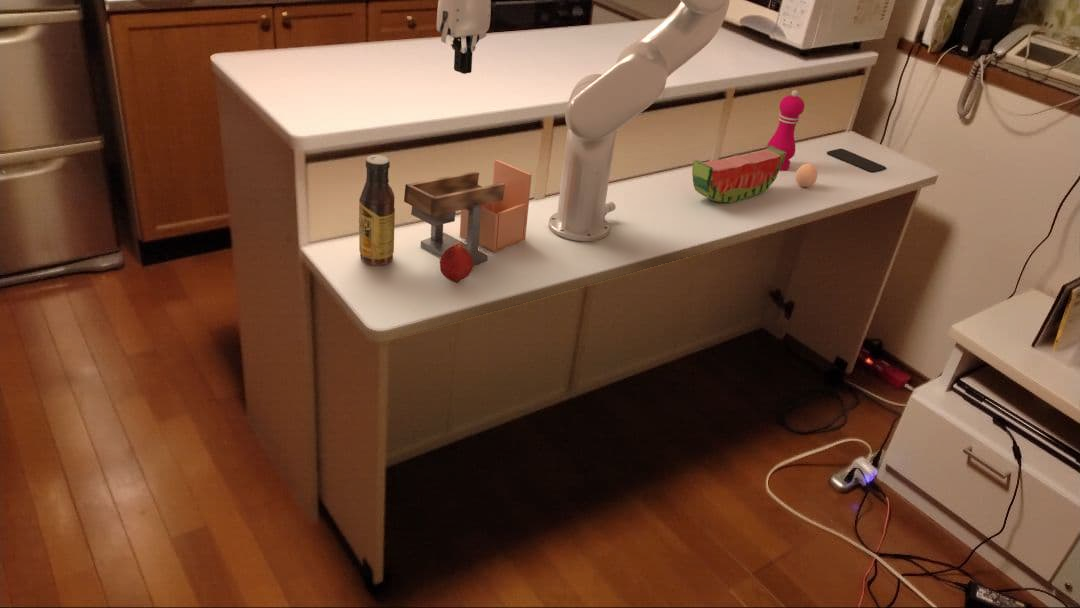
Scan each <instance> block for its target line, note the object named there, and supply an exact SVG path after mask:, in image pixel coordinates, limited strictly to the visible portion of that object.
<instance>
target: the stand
mask: <svg viewBox="0 0 1080 608" xmlns="http://www.w3.org/2000/svg"><path fill="white" fill-rule="evenodd" d="M480 221H481V205H480V204H478V203H475V204H473V205H470V206H469V212H468V230H467V240H466V243H465V242H464V241H462V240H459V239H457V238H455V237H453V236H452V235H449V234H447V233H446V232H444V224H442V225H437V226H432V225H431V224H430V237H428V238H426V239H423V240H421V241H420V247H421V248H422V249H424V250H426V251H428V252H430V253H431V254H433V255H435V256H437V257H439V258H440V259H441V256H442V255H443V253H444V252H445V251H446V250H447V249H448V248H450V247H452V246H454V245H455V243H457V242H461V244H462V247H463V248H464V249H466V250H467V251H468V252H469V253H470V255H471V257H472V260H473V268H474V267H476V266H479V265H481V264H483V263H486V262H488V258H489V255H488V254H487V253H485V252H482V251H480V250H479V249H480V248H479V247H480V246H479V236H480Z"/></svg>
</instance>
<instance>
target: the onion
mask: <svg viewBox="0 0 1080 608" xmlns="http://www.w3.org/2000/svg"><path fill="white" fill-rule="evenodd" d="M461 242H462V241H461ZM461 242H457V243H455V245H454V246H452V247H450V248H448V249H447V250H446V251H445V252H444V253H443V255H442V256H441V258H440V259H439V267H440V272H441V275H443V276H444V278H446V279H447V280H449V281H451V282H453V283H454V284H457V283H460V282H461V281H464V279H465V280H466V278H467V277H469V276H470V274H471V273H472V271H473V268H474V267H473V260H472V257H471V255H470V253H469V252H468V251H467V250H466V249H464V248H463V247H462V244H461Z"/></svg>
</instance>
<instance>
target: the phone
mask: <svg viewBox="0 0 1080 608" xmlns="http://www.w3.org/2000/svg"><path fill="white" fill-rule="evenodd" d="M826 155H827V156H830V157H833V158H835V159H838V160H840V161H841V162H845V163H847V164H849V165H850V166H852V167H855V168H859V169H861V170H863V171H865V172H868V173H878V172H881V171H885V170H886V169H887V167H886V166H884V165H883V164H881V163H878V162H876V161H873V160H870V159H868V158H866V157H864V156H861V155H859V154H856V153H854V152H852V151H850V150H847V149H844V148H835V149H832V150H828V151H827V152H826Z"/></svg>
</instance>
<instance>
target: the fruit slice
mask: <svg viewBox="0 0 1080 608" xmlns="http://www.w3.org/2000/svg"><path fill="white" fill-rule="evenodd" d="M766 147H767V148H764V149H763V150H760V151H756V152H749V153H748V154H743V155H739V154H736V155H732V156H731V157H726V158H722V159H714V160H708V161H705V162H702V161H701V160H698V159H696V160H695V159H694V160H693V163H692V173H691V175H692V183H693V188H694V190H695V191H696V192H697V193H698V194H700V195H702V196H704V197H705V198H708V199H709V200H711V201H713V202H718V203H728V204H731V203H736V202H740V201H743V200H747V199H748V198H750V197H755V196H756V195H759V194H760V193H763V192H765V191H766V190H768V189H769V187H771V186H772V185H773V184H774V181H776V179H777V177H778V174H779V172H780V171H781V170H780V168H781V166H782V164H783V161H784V158H785V155H786V152H784V151H782V150H779V149H777V148H775V147H773V146H767V145H766Z"/></svg>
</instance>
